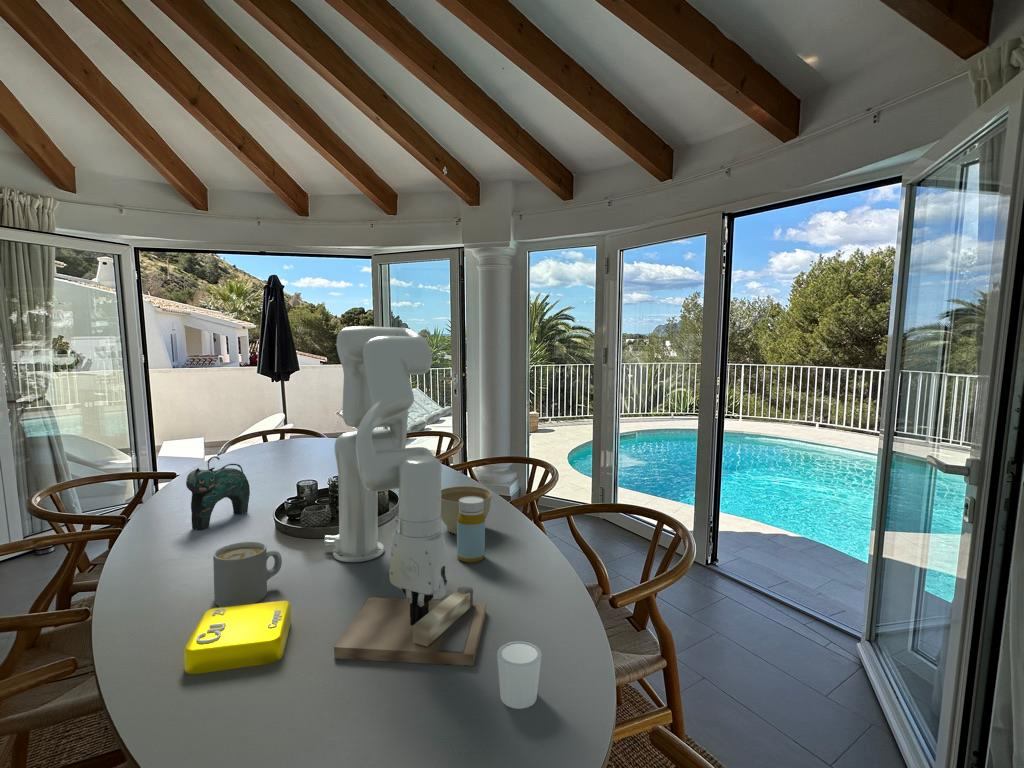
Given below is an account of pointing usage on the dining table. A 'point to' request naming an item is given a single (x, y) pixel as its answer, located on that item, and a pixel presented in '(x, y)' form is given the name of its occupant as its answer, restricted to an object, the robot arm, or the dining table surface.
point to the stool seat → (408, 635)
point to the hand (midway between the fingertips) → (419, 622)
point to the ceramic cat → (216, 492)
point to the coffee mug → (242, 573)
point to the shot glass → (519, 673)
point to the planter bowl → (452, 503)
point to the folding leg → (442, 616)
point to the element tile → (238, 637)
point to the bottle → (471, 529)
